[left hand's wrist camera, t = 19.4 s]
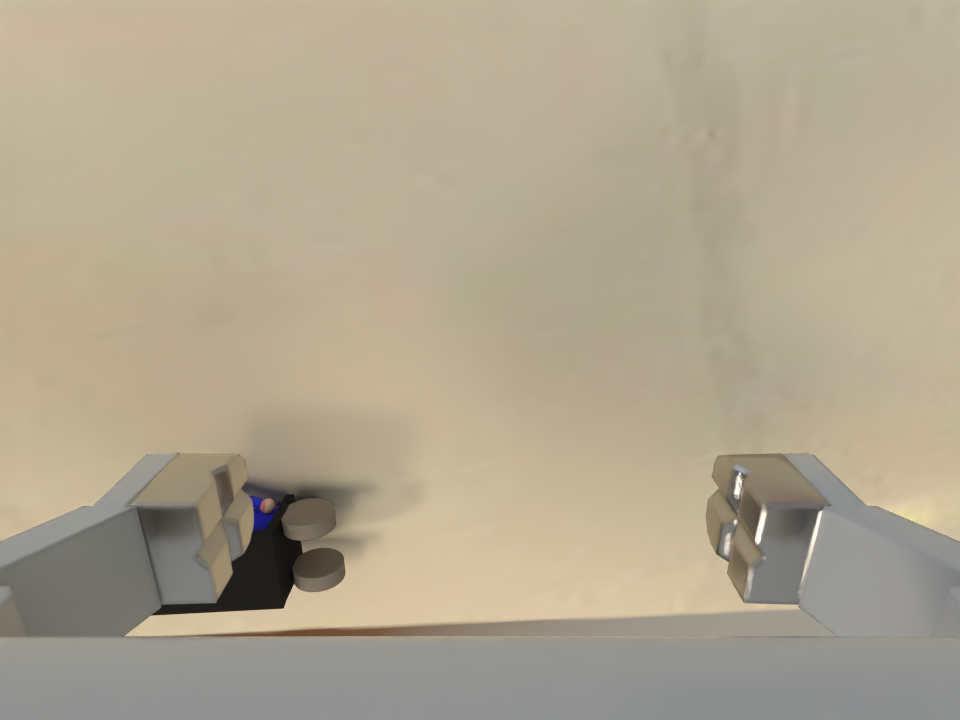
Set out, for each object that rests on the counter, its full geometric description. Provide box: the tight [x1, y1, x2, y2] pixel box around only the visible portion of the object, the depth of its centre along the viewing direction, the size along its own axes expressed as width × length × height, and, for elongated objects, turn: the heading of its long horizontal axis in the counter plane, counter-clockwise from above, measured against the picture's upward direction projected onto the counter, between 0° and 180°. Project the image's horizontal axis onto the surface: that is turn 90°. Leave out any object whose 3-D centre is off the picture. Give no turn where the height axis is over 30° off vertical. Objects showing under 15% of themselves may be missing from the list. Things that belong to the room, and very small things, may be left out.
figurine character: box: [152, 494, 345, 615], centre depth 42 cm, size 7×8×15 cm
